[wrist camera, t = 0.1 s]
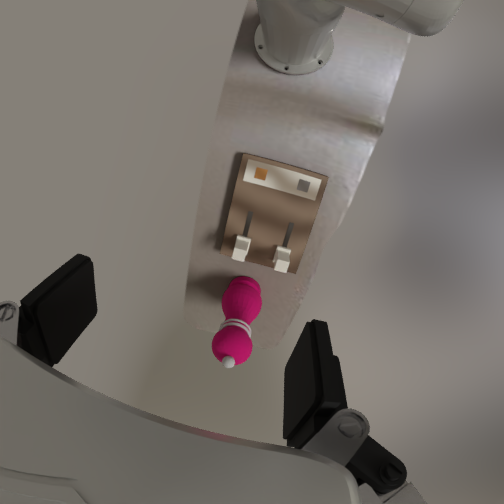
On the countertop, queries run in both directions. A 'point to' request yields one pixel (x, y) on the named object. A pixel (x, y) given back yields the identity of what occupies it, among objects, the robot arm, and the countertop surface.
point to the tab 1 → (241, 248)
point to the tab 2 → (281, 259)
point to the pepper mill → (237, 321)
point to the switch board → (273, 209)
